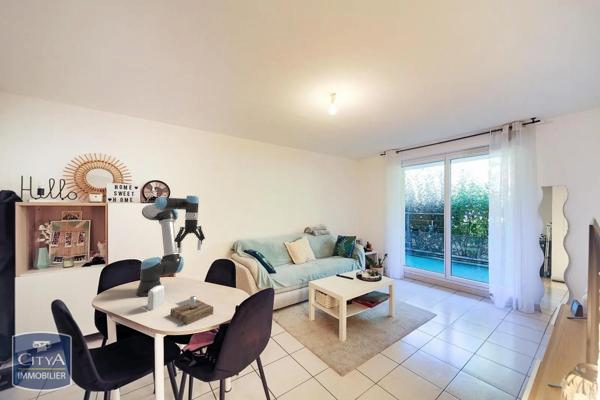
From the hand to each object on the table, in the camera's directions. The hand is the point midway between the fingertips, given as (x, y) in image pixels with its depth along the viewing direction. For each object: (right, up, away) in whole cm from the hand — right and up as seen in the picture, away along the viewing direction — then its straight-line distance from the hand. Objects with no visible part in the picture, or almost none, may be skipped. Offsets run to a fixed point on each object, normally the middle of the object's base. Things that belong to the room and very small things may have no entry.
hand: (189, 251), depth 154 cm
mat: (+3, -32, -6) cm, 32 cm away
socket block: (+11, -32, -21) cm, 39 cm away
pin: (+11, -32, -21) cm, 39 cm away
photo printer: (-15, -31, -13) cm, 36 cm away
